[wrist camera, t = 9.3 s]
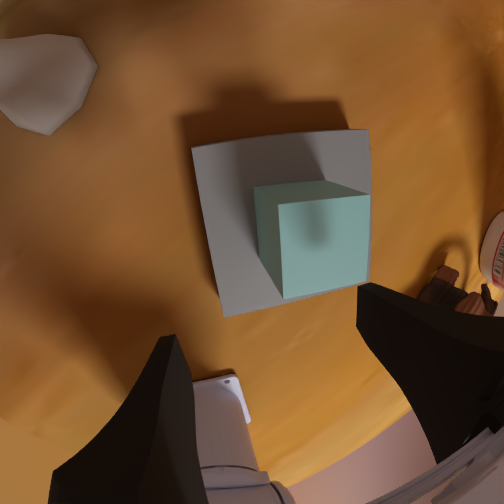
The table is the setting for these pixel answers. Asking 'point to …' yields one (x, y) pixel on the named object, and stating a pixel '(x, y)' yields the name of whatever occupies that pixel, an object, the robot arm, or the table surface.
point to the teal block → (312, 235)
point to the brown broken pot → (457, 295)
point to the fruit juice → (494, 253)
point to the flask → (44, 80)
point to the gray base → (243, 206)
